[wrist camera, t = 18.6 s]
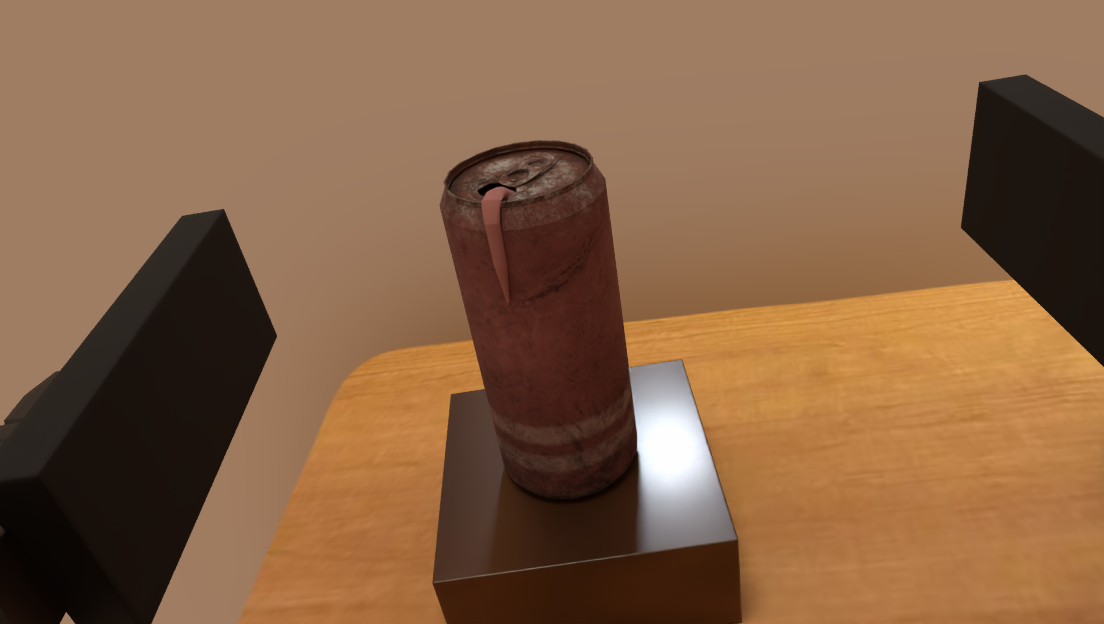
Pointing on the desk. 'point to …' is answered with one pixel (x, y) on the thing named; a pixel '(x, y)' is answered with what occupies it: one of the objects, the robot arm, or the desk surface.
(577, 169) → the can
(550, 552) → the walnut block
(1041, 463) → the desk surface
